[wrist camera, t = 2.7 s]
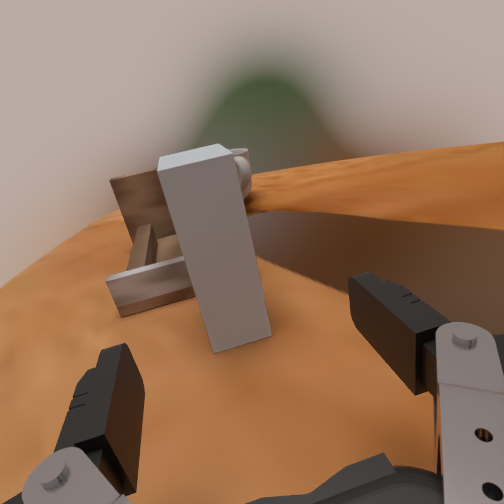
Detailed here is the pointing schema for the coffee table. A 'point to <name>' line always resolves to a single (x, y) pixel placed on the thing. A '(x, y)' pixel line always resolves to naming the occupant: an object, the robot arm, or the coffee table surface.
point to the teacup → (243, 170)
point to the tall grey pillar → (216, 243)
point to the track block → (148, 248)
